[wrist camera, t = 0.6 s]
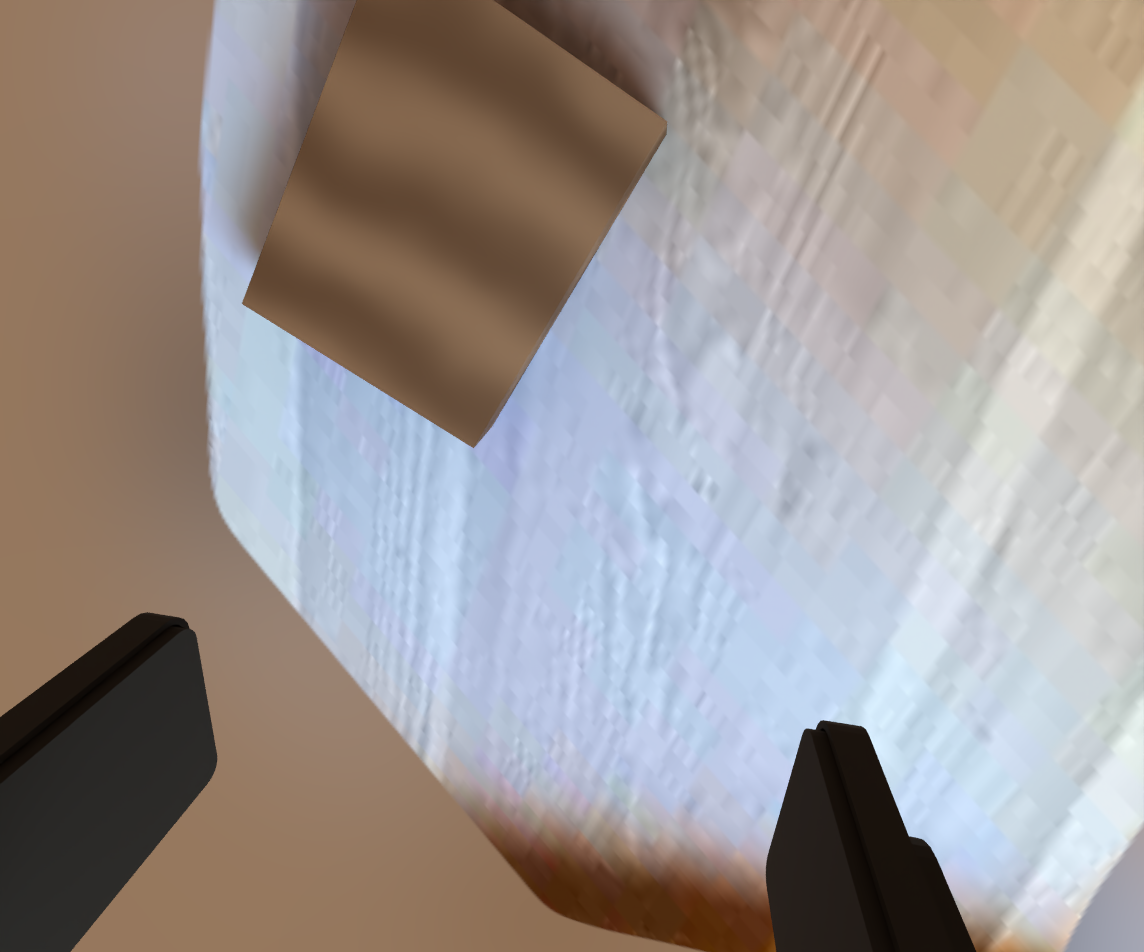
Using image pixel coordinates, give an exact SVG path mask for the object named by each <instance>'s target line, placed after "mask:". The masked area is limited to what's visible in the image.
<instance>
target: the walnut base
mask: <svg viewBox="0 0 1144 952" xmlns="http://www.w3.org/2000/svg"><path fill="white" fill-rule="evenodd" d="M666 133H667V121H666V120H664V119H663V118H661V117H660V116H659V115H657V114H656V113H654V112H653V111H651V110H650V109H649V108H647V107H646V106H644V105H643V104H641V103H640V102H639V101H637V100H636V99H634V98H633V97H631V96H630V95H629V94H627V93H626V92H624V91H623V90H621V89H620V88H618V87H617V86H616V85H614V84H613V83H611V82H610V81H608V80H607V79H606V78H604V77H603V76H601V75H600V74H598V73H597V72H596V71H594V70H593V69H591V68H590V67H588V66H587V65H586V64H584V63H583V62H581V61H580V60H578V59H577V58H576V57H574V56H573V55H571V54H570V53H568V52H567V51H566V50H564V49H563V48H561V47H560V46H558V45H557V44H555V43H554V42H553V41H551V40H550V39H548V38H547V37H545V36H544V35H543V34H541V33H540V32H538V31H537V30H535V29H534V28H533V27H531V26H530V25H528V24H527V23H525V22H524V21H523V20H521V19H520V18H518V17H517V16H515V15H514V14H513V13H511V12H510V11H508V10H507V9H505V8H504V7H503V6H501V5H500V4H498V3H497V2H495V1H494V0H357V1H356V3H355V6H354V9H353V11H352V14H351V17H350V19H349V22H348V25H347V27H346V30H345V33H344V35H343V38H342V40H341V43H340V46H339V48H338V51H337V54H336V56H335V59H334V62H333V64H332V67H331V70H330V72H329V75H328V77H327V80H326V83H325V85H324V88H323V91H322V93H321V96H320V99H319V101H318V104H317V107H316V109H315V112H314V114H313V117H312V120H311V122H310V125H309V128H308V130H307V133H306V136H305V138H304V141H303V144H302V146H301V149H300V151H299V154H298V157H297V159H296V162H295V165H294V167H293V170H292V173H291V175H290V178H289V181H288V183H287V186H286V188H285V191H284V194H283V196H282V199H281V202H280V204H279V207H278V210H277V212H276V215H275V218H274V220H273V223H272V225H271V228H270V231H269V233H268V236H267V239H266V241H265V244H264V247H263V249H262V252H261V255H260V257H259V260H258V262H257V265H256V268H255V270H254V273H253V276H252V278H251V281H250V284H249V286H248V289H247V292H246V294H245V297H244V299H243V302H242V304H243V305H245V306H246V307H248V308H250V309H251V310H253V311H254V312H256V313H258V314H259V315H261V316H262V317H264V318H266V319H267V320H269V321H270V322H272V323H274V324H275V325H277V326H278V327H280V328H282V329H283V330H285V331H286V332H288V333H290V334H291V335H293V336H295V337H296V338H298V339H299V340H301V341H303V342H304V343H306V344H307V345H309V346H311V347H312V348H314V349H315V350H317V351H319V352H320V353H322V354H323V355H325V356H327V357H328V358H330V359H331V360H333V361H335V362H336V363H338V364H339V365H341V366H343V367H344V368H346V369H347V370H349V371H351V372H352V373H354V374H355V375H357V376H359V377H360V378H362V379H363V380H365V381H367V382H368V383H370V384H372V385H373V386H375V387H376V388H378V389H380V390H381V391H383V392H384V393H386V394H388V395H389V396H391V397H392V398H394V399H396V400H397V401H399V402H400V403H402V404H404V405H405V406H407V407H408V408H410V409H412V410H413V411H415V412H416V413H418V414H420V415H421V416H423V417H424V418H426V419H428V420H429V421H431V422H432V423H434V424H436V425H437V426H439V427H440V428H442V429H444V430H445V431H447V432H448V433H450V434H452V435H453V436H455V437H457V438H458V439H460V440H461V441H463V442H465V443H466V444H468V445H469V446H471V447H473V448H474V447H475V446H476V445H477V444H478V442H479V441H480V440H481V439H482V438H483V437H484V435H485V434H486V433H487V432H488V431H489V430H490V428H491V427H492V426H493V424H494V422H495V421H496V419H497V417H498V416H499V414H500V412H501V411H502V409H503V407H504V406H505V404H506V402H507V401H508V399H509V397H510V396H511V394H512V392H513V390H514V389H515V387H516V385H517V384H518V382H519V380H520V379H521V377H522V375H523V374H524V372H525V370H526V369H527V367H528V365H529V364H530V362H531V360H532V359H533V357H534V355H535V354H536V352H537V350H538V349H539V347H540V345H541V344H542V342H543V340H544V339H545V337H546V335H547V333H548V332H549V330H550V328H551V327H552V325H553V323H554V322H555V320H556V318H557V317H558V315H559V313H560V312H561V310H562V308H563V307H564V305H565V303H566V302H567V300H568V298H569V297H570V295H571V293H572V292H573V290H574V288H575V287H576V285H577V283H578V281H579V280H580V278H581V276H582V275H583V273H584V271H585V270H586V268H587V266H588V265H589V263H590V261H591V260H592V258H593V256H594V255H595V253H596V251H597V250H598V248H599V246H600V245H601V243H602V241H603V240H604V238H605V236H606V235H607V233H608V231H609V230H610V228H611V226H612V224H613V223H614V221H615V219H616V218H617V216H618V214H619V213H620V211H621V209H622V208H623V206H624V204H625V203H626V201H627V199H628V198H629V196H630V194H631V193H632V191H633V189H634V188H635V186H636V184H637V183H638V181H639V179H640V178H641V176H642V174H643V173H644V171H645V169H646V167H647V166H648V164H649V162H650V161H651V159H652V157H653V156H654V154H655V152H656V151H657V149H658V147H659V146H660V144H661V142H662V141H663V139H664V137H665V136H666Z"/></svg>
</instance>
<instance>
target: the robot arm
mask: <svg viewBox="0 0 1144 952" xmlns="http://www.w3.org/2000/svg"><path fill="white" fill-rule="evenodd" d="M216 764H217V752H216V747H215V741H214V735H213V729H212V723H211V718H210V712H209V706H208V701H207V695H206V689H205V683H204V677H203V672H202V666H201V660H200V654H199V649H198V643H197V637H196V634H195V632H194V631H193V630H191V629H189V626H188V623H187V622H186V621H185V620H184V619H182V618H179V617H173V616H166V615H160V614H154V613H148V612H147V613H142V614H139V615H138V616H136V617H134V618H133V619H131V620H130V621H129V622H127V623H126V624H125V625H123V626H122V627H121V628H119V629H118V630H117V631H115V632H114V633H113V634H111V635H110V636H109V637H107V638H106V639H105V640H103V641H102V642H100V643H99V644H98V645H96V646H95V647H94V648H92V649H91V650H90V651H88V652H87V653H86V654H84V655H83V656H82V657H80V658H79V659H78V660H76V661H75V662H74V663H72V664H71V665H70V666H68V667H67V668H66V669H64V670H63V671H62V672H60V673H59V674H58V675H56V676H55V677H53V678H52V679H51V680H49V681H48V682H47V683H45V684H44V685H43V686H41V687H40V688H39V689H37V690H36V691H35V692H33V693H32V694H31V695H29V696H28V697H27V698H25V699H24V700H23V701H21V702H20V703H19V704H17V705H16V706H15V707H13V708H12V709H10V710H9V711H8V712H7V713H5V714H4V715H2V716H1V717H0V952H71V950H72V949H73V948H74V947H75V945H76V944H77V943H78V942H79V941H80V939H81V938H82V937H83V936H84V934H85V933H86V932H87V931H88V930H89V928H90V927H91V926H92V925H93V923H94V922H95V921H96V920H97V918H98V917H99V916H100V915H101V914H102V912H103V911H104V910H105V909H106V907H107V906H108V905H109V904H110V903H111V901H112V900H113V899H114V898H115V896H116V895H117V894H118V893H119V891H120V890H121V889H122V888H123V887H124V885H125V884H126V883H127V882H128V881H129V879H130V878H131V877H132V876H133V874H134V873H135V872H136V871H137V869H138V868H139V867H140V866H141V865H142V863H143V862H144V861H145V859H146V858H147V857H148V856H149V855H150V854H151V852H152V851H153V850H154V849H155V847H156V846H157V845H158V844H159V843H160V841H161V840H162V839H163V838H164V836H165V835H166V834H167V832H168V831H169V830H170V829H171V828H172V827H173V825H174V824H175V823H176V822H177V820H178V819H179V818H180V817H181V816H182V814H183V813H184V812H185V811H186V809H187V808H188V807H189V806H190V804H191V803H192V802H193V801H194V800H195V798H196V797H197V796H198V794H199V793H200V792H201V791H202V790H203V789H204V787H205V786H206V785H207V784H208V782H209V781H210V779H211V778H212V776H213V774H214V771H215V768H216ZM766 884H767V892H768V898H769V905H770V912H771V918H772V925H773V931H774V938H775V945H776V951H777V952H976V950H975V948H974V945H973V943H972V941H971V938H970V936H969V934H968V931H967V929H966V926H965V924H964V922H963V919H962V917H961V915H960V912H959V910H958V908H957V905H956V903H955V901H954V898H953V896H952V893H951V891H950V889H949V886H948V884H947V882H946V879H945V877H944V875H943V872H942V870H941V868H940V865H939V863H938V861H937V858H936V857H935V855H934V853H933V851H932V849H931V847H930V846H929V845H928V844H927V843H926V842H925V841H924V840H922V839H919V838H915V837H909V836H908V833H907V831H906V828H905V826H904V823H903V821H902V818H901V815H900V813H899V810H898V808H897V805H896V803H895V800H894V798H893V795H892V793H891V790H890V788H889V785H888V782H887V780H886V777H885V775H884V772H883V770H882V767H881V765H880V762H879V760H878V757H877V755H876V752H875V750H874V747H873V744H872V742H871V739H870V737H869V735H868V733H867V731H866V729H865V728H863V727H862V726H856V725H849V724H843V723H837V722H831V721H824V720H823V721H820V722H819V723H818V725H817V727H816V730H813V729H805V730H804V732H803V735H802V738H801V741H800V745H799V748H798V752H797V755H796V759H795V762H794V766H793V769H792V773H791V776H790V780H789V783H788V787H787V790H786V794H785V797H784V801H783V804H782V808H781V811H780V815H779V818H778V821H777V825H776V828H775V832H774V835H773V839H772V842H771V846H770V849H769V853H768V857H767V863H766Z"/></svg>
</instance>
